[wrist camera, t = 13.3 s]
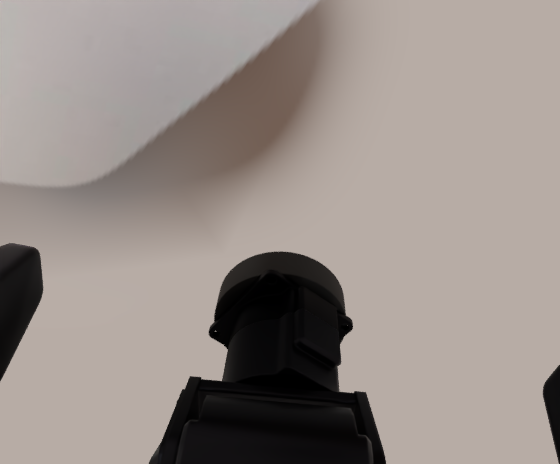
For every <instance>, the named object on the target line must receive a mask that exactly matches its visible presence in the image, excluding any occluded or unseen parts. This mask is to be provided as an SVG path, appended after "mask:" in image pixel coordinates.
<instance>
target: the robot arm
mask: <svg viewBox="0 0 560 464" xmlns="http://www.w3.org/2000/svg"><path fill="white" fill-rule="evenodd" d="M269 277H274V278H275V279H269ZM42 293H43V280H42V269H41V260H40V253H39V251H38V250H37V249H36V248H34V247H30V246H25V245H20V244H14V243H9V244H6V245H3V246H1V247H0V381H1V379H2V377H3V375H4V373H5V371H6V369H7V367H8V365H9V363H10V361H11V359H12V357H13V355H14V353H15V351H16V349H17V347H18V345H19V343H20V341H21V339H22V337H23V335H24V333H25V331H26V329H27V327H28V325H29V323H30V321H31V319H32V317H33V315H34V313H35V311H36V309H37V307H38V305H39V303H40V300H41V297H42ZM343 324H347V325H345V326H343ZM352 329H353V322H352V320H351V318H349V317H348V316H346V315H345V314H343V313H342V312H340V311H339V310H337V309H336V307H335V306H333V305H332V304H330V303H329V302H327V301H326V300H324V299H323V298H321V297H320V296H318V295H317V294H315V293H313V292H312V291H310V290H309V289H307V288H306V287H303V286H300V285H299V284H297V283H296V282H294V281H293V280H291V279H290V278H288V277H287V276H285V275H284V274H282V273H280V272H279V271H277V270H275V269H268V270H266V271H265V272H264V273H263V274H262V275H261V276H260V277H259V278H258V279H257V280H256V281H255V282H254V283H253V284H252V285H251V286H250V287H249V288H248V289H247V290H246V291H245V292H244V293H243V294H242V295H241V296H240V297H239V298H238V299H237V300H236V301H235V302H234V303H233V304H232V305H231V306H230V307H229V308H228V309H227V310H226V311H225V312H224V313H223V314H222V315H221V316H220V317H219V318H218V319H217V320H216V321H215V322H214V323H213V324H212V325H211V326H210V328H209V336H210V337H211V338H212V339H214V340H216V341H218V342H219V343H221V344H223V345H225V346H226V347H228V352H227V358H226V363H225V369H224V374H223V379H222V381H212V380H203V379H201V377H191V376H190V378H189V380H188V383H187V385H186V388H185V389H183V390H182V392H181V394H180V397H179V399H178V401H177V404H176V407H175V409H174V412H173V414H172V417H171V420H170V422H169V424H168V427H167V429H166V432H165V434H164V437H163V439H162V442H161V443H160V445H159V447H158V448H157V450H156V451H155V453H154V454H153V456H152V458H151V460H150V462H149V464H386V460H385V455H384V451H383V447H382V444H381V441H380V438H379V434H378V431H377V428H376V424H375V421H374V418H373V414H372V411H371V408H370V404H369V401H368V398H367V394H366V392H357V391H355V392H354V393H346V392H339V382H338V369H337V366H339V365H340V364H341V354H340V342H339V340H340V339H342V338H343V337H344V336H345V335H347V334H348V333H349V332H351V330H352ZM215 331H218V332H215ZM543 398H544V402H545V406H546V410H547V414H548V419H549V423H550V427H551V432H552V436H553V440H554V445H555V449H556V453H557V457H558V462H559V464H560V365H559V366H558V367H557V368H556V370H555V371H554V372H553V373H552V374H551V376H550V377H549V378H548V379H547V381H546V382H545V384H544V387H543Z"/></svg>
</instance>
